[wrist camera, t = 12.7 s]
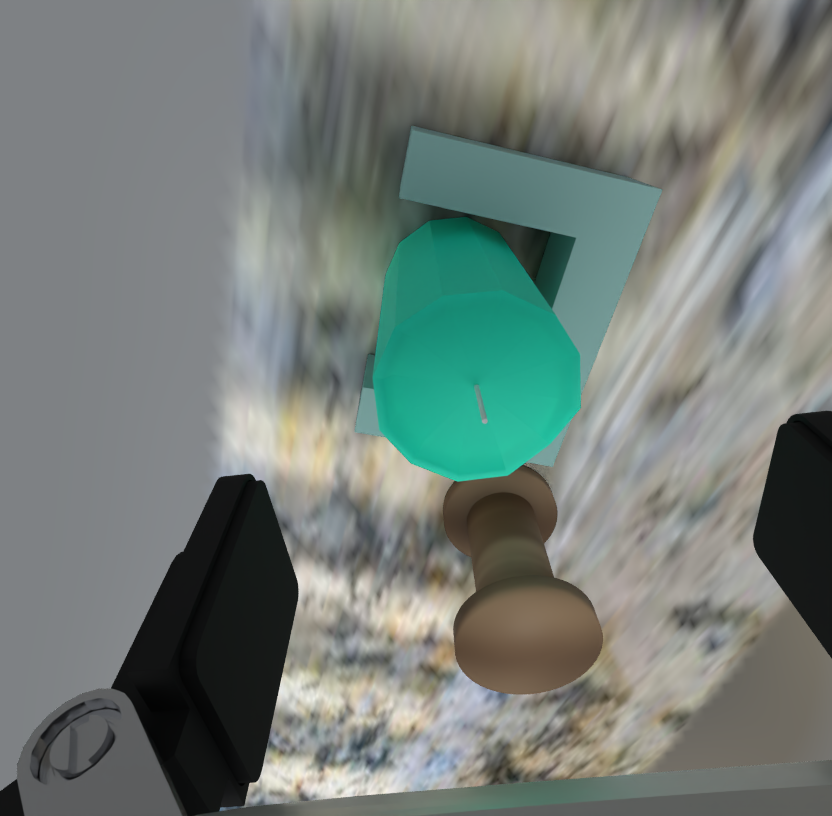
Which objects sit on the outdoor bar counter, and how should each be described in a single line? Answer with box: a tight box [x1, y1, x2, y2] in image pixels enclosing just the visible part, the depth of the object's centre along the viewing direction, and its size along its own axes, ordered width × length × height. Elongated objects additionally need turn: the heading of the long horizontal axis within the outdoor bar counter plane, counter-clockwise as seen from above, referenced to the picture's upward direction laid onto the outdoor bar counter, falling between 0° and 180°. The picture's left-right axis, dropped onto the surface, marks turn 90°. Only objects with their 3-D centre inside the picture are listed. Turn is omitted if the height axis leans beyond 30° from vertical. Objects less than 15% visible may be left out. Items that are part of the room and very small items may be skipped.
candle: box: [372, 217, 581, 482], centre depth 20 cm, size 6×6×12 cm
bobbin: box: [443, 465, 603, 694], centre depth 27 cm, size 6×6×9 cm
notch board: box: [355, 126, 662, 467], centre depth 24 cm, size 12×9×4 cm
